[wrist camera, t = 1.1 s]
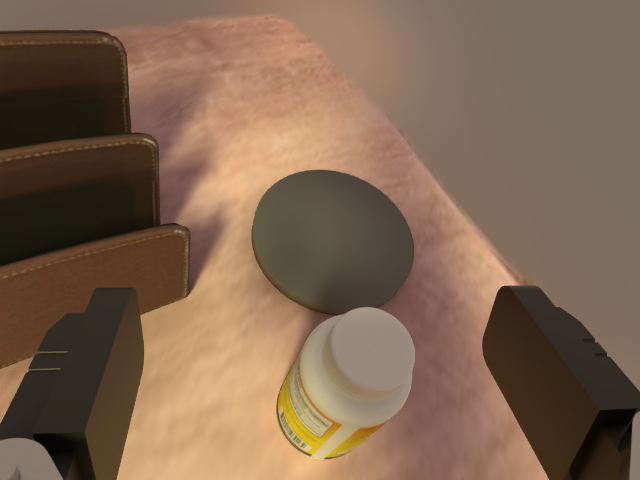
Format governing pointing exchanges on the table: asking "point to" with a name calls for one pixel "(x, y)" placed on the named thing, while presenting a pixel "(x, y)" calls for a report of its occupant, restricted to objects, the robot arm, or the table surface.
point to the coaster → (331, 241)
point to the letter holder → (75, 188)
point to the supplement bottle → (346, 382)
